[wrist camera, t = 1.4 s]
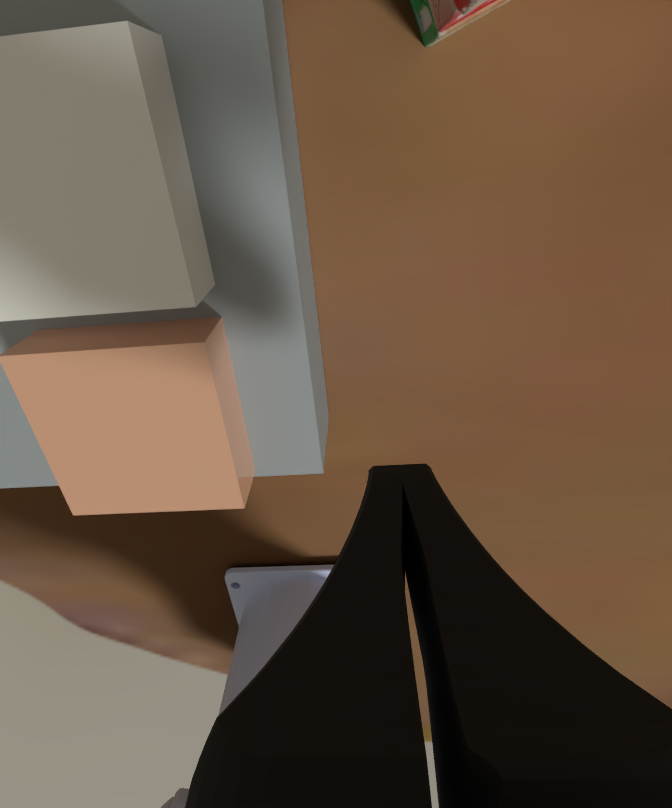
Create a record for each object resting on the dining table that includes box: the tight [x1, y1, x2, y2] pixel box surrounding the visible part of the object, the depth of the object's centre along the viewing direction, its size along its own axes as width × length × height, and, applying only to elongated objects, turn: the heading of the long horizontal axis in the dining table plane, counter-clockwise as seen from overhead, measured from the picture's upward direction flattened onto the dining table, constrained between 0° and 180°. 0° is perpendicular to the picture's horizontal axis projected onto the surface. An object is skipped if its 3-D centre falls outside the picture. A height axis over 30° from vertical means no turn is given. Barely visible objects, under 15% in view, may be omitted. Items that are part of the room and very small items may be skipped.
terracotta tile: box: [0, 317, 255, 515], centre depth 16 cm, size 6×6×2 cm
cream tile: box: [0, 21, 215, 322], centre depth 12 cm, size 6×6×2 cm
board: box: [0, 0, 329, 488], centre depth 17 cm, size 14×15×4 cm
